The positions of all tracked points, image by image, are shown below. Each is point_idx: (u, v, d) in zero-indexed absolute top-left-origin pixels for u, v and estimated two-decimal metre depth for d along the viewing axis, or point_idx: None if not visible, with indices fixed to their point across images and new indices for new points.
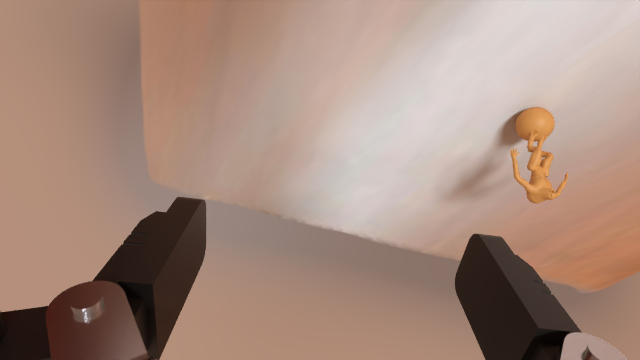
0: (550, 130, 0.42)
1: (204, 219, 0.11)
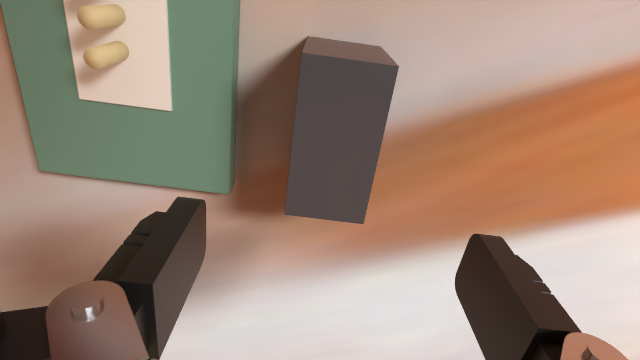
0: None
1: (204, 219, 0.11)
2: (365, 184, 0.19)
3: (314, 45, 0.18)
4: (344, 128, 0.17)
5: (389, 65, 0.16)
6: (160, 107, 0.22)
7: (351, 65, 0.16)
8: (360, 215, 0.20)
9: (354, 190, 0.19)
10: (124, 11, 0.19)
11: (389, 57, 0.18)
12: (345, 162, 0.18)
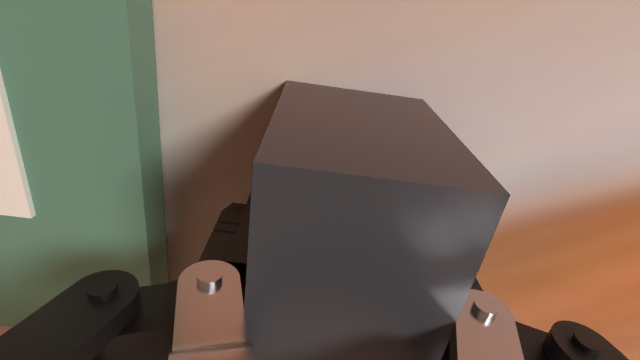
0: None
1: None
2: None
3: (294, 115, 0.08)
4: (363, 317, 0.07)
5: (485, 191, 0.06)
6: (11, 211, 0.12)
7: (385, 193, 0.06)
8: None
9: None
10: None
11: (461, 144, 0.08)
12: None
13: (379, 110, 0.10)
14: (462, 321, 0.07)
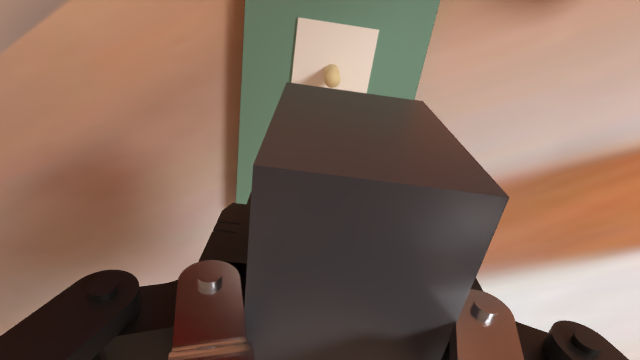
0: None
1: None
2: None
3: (294, 118, 0.08)
4: (363, 320, 0.07)
5: (484, 194, 0.06)
6: None
7: (385, 195, 0.06)
8: None
9: None
10: None
11: (460, 146, 0.08)
12: None
13: (379, 112, 0.10)
14: (462, 321, 0.07)
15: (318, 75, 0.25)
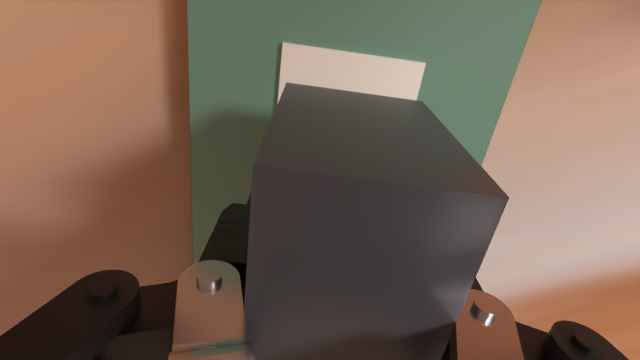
0: None
1: None
2: None
3: (294, 118, 0.08)
4: (362, 320, 0.07)
5: (484, 194, 0.06)
6: None
7: (385, 196, 0.06)
8: None
9: None
10: None
11: (460, 146, 0.08)
12: None
13: (379, 112, 0.10)
14: (462, 321, 0.07)
15: None
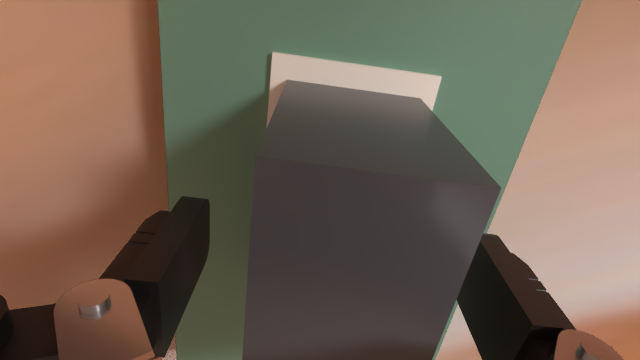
0: None
1: (208, 218, 0.11)
2: None
3: (294, 113, 0.09)
4: (361, 308, 0.08)
5: (477, 185, 0.06)
6: None
7: (382, 186, 0.06)
8: None
9: None
10: None
11: (456, 140, 0.08)
12: None
13: (377, 108, 0.10)
14: (562, 358, 0.07)
15: None
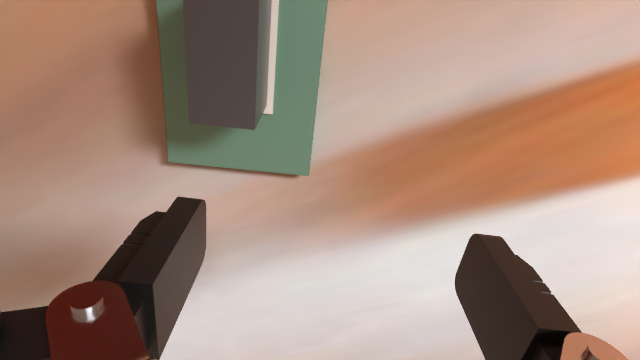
0: None
1: (204, 219, 0.11)
2: (250, 93, 0.23)
3: None
4: (225, 43, 0.22)
5: None
6: (264, 111, 0.30)
7: None
8: (251, 122, 0.24)
9: (242, 99, 0.23)
10: None
11: None
12: (231, 73, 0.22)
13: None
14: None
15: None
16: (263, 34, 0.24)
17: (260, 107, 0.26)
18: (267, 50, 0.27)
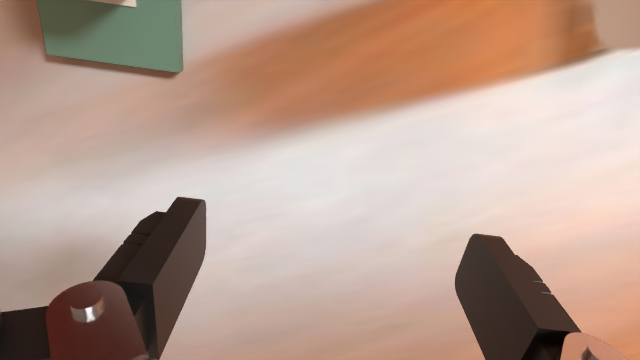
0: None
1: (204, 219, 0.11)
2: None
3: None
4: None
5: None
6: (128, 4, 0.33)
7: None
8: None
9: None
10: None
11: None
12: None
13: None
14: None
15: None
16: None
17: None
18: None
